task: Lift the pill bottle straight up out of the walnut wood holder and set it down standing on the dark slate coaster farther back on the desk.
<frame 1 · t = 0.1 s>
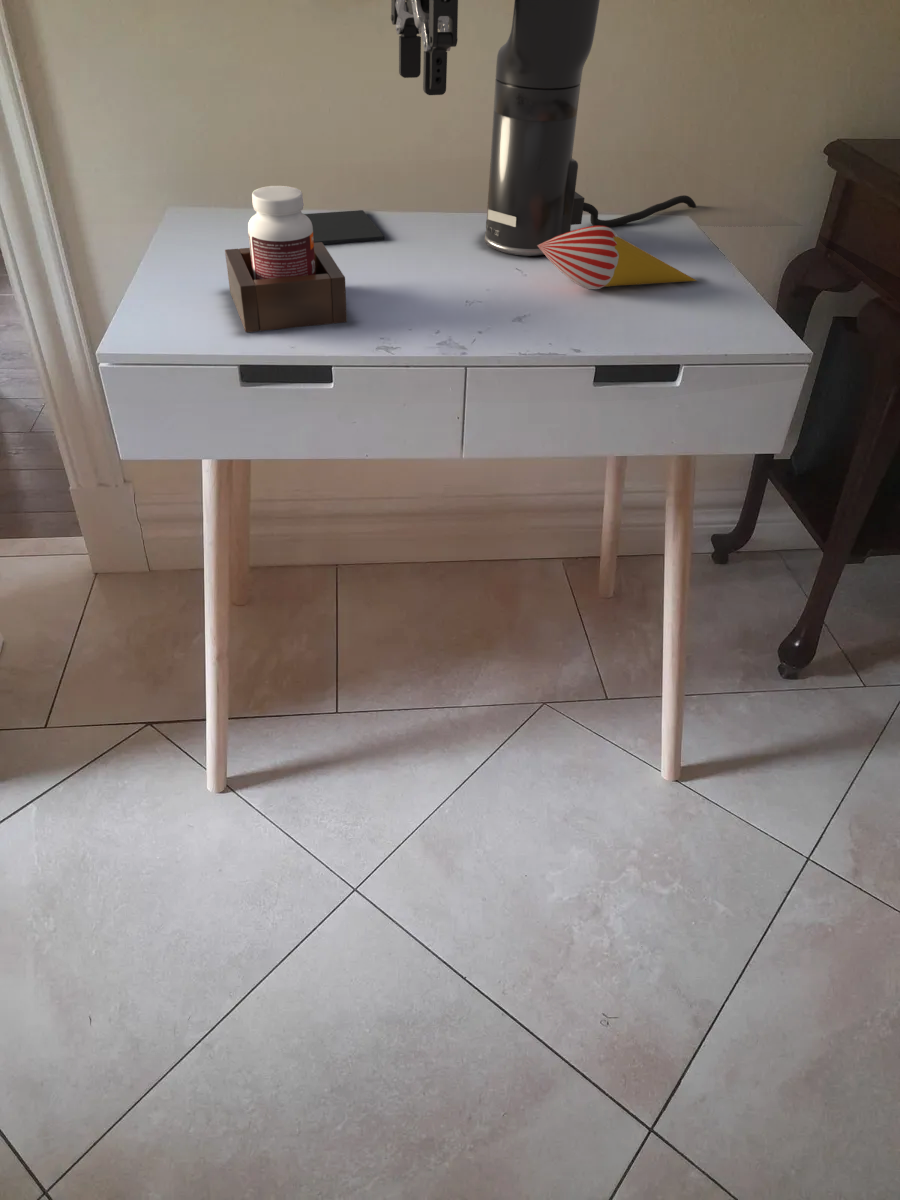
hand: (421, 85, 92), 17 cm above the table, tool pointing down, fingers open, 8 cm apart
coaster: (333, 228, 108), on the table
holder: (287, 307, 90), on the table
ice cream cone: (617, 288, 98), on the table
pill bottle: (287, 309, 90), resting in holder
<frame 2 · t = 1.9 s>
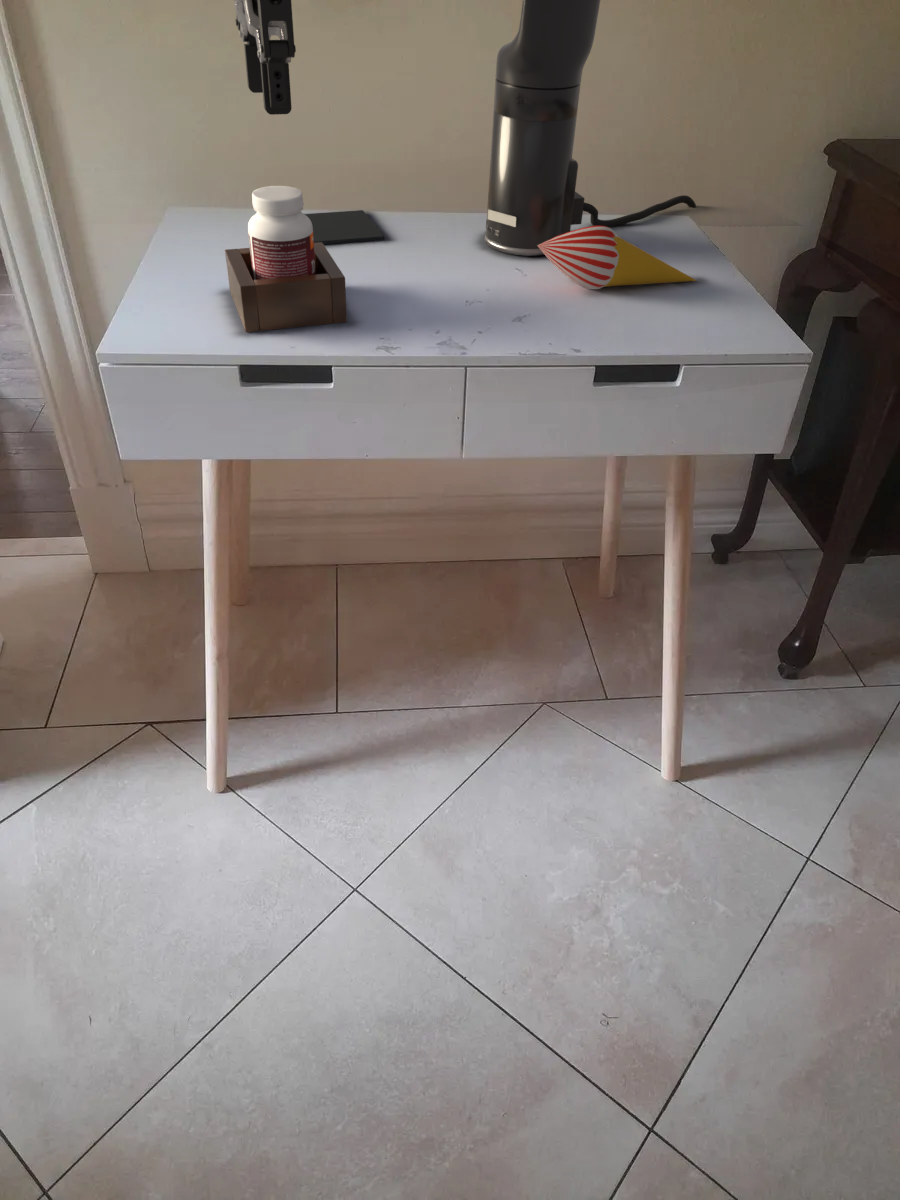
hand: (269, 102, 78), 19 cm above the table, tool pointing down, fingers open, 8 cm apart
nothing on the table moved.
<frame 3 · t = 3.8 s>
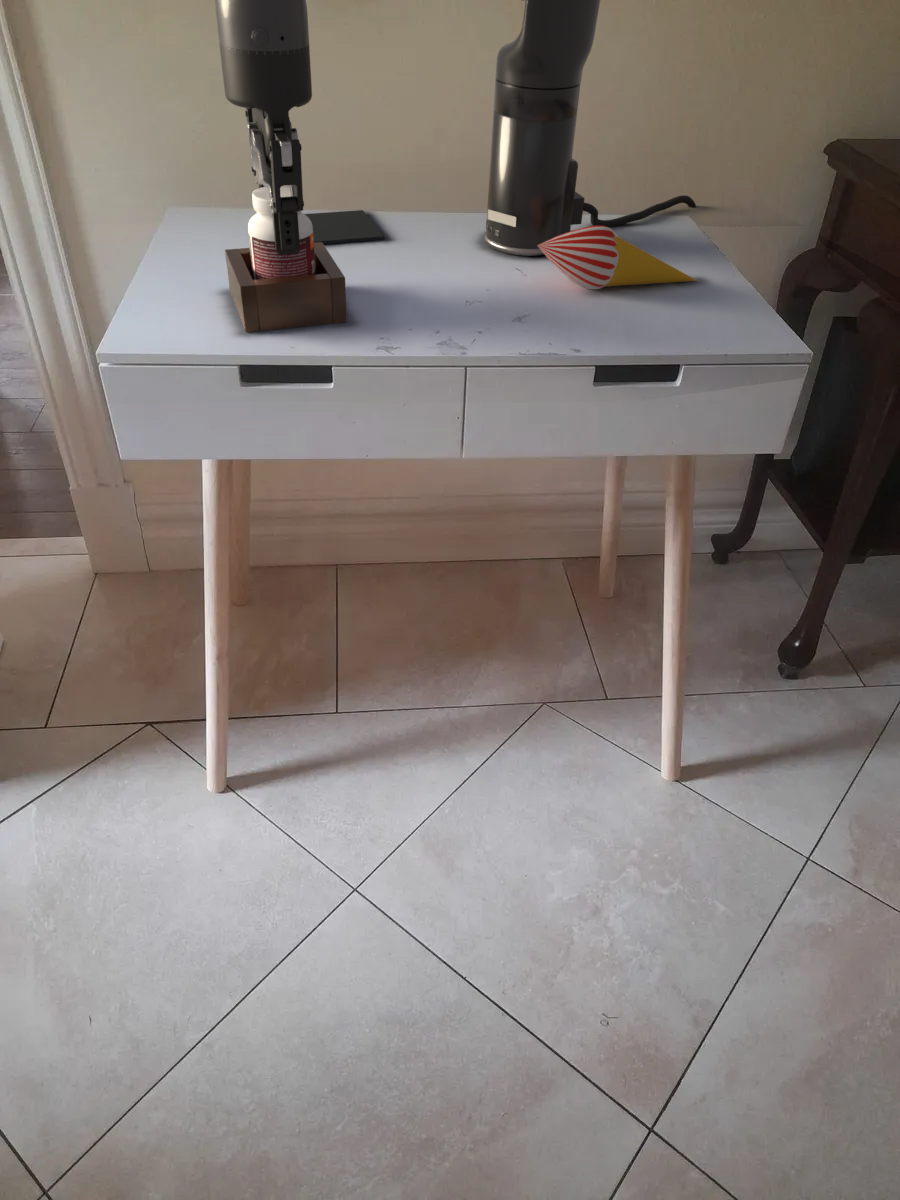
hand: (281, 240, 86), 7 cm above the table, tool pointing down, fingers closed on pill bottle, 6 cm apart
pill bottle: (287, 309, 90), resting in holder, touching gripper
everything else where it was.
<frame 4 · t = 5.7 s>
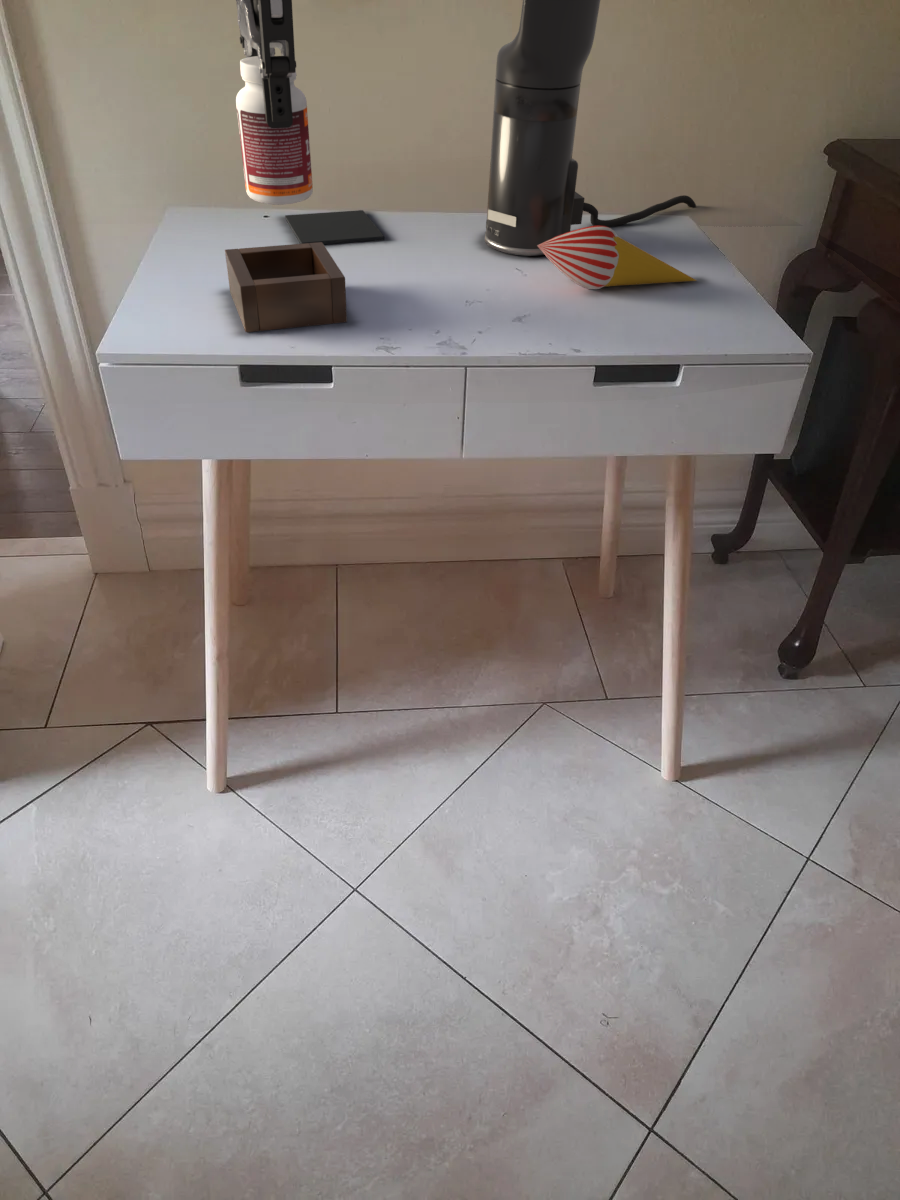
hand: (272, 116, 79), 17 cm above the table, tool pointing down, fingers closed on pill bottle, 6 cm apart
pill bottle: (280, 198, 83), point 11 cm above the table, touching gripper
everything else where it was.
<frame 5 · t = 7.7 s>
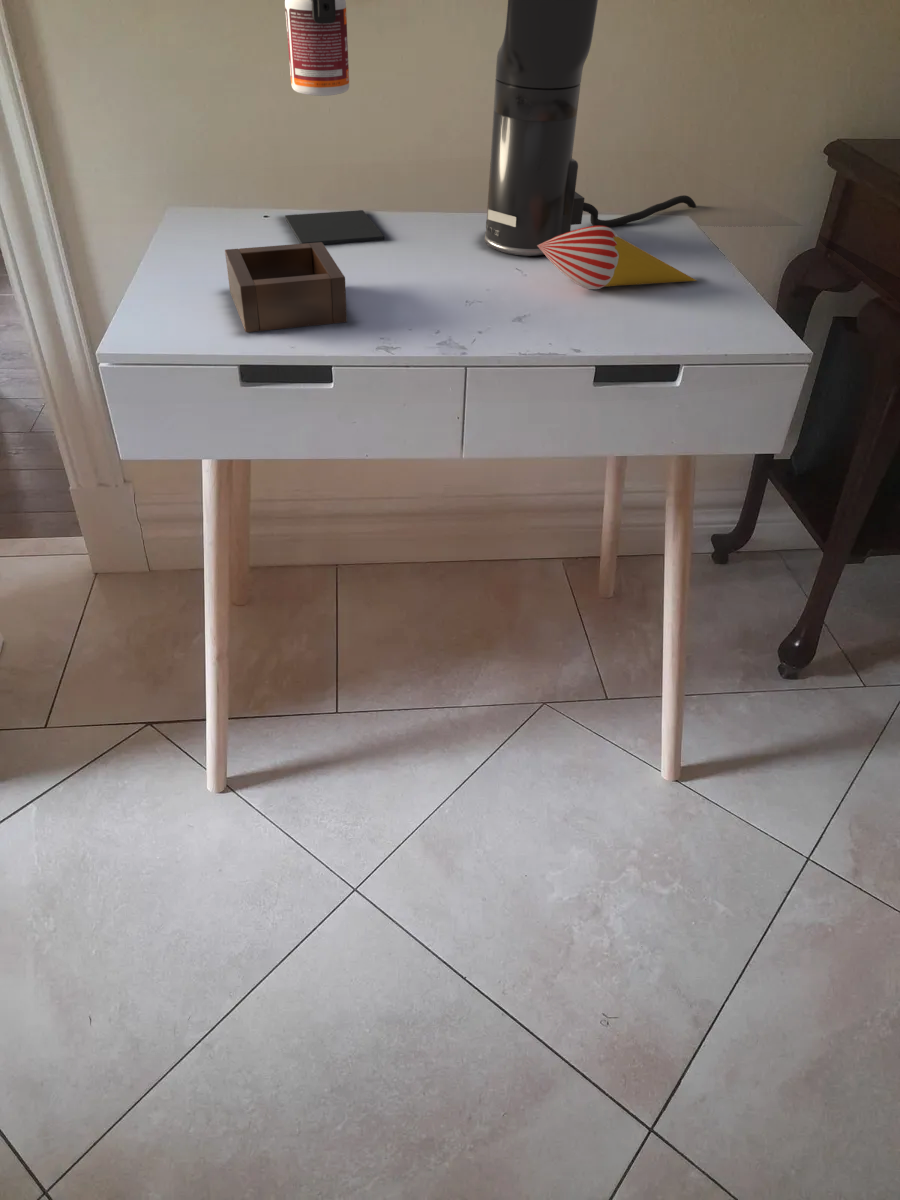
hand: (316, 16, 91), 22 cm above the table, tool pointing down, fingers closed on pill bottle, 6 cm apart
pill bottle: (320, 92, 95), point 16 cm above the table, touching gripper
everything else where it was.
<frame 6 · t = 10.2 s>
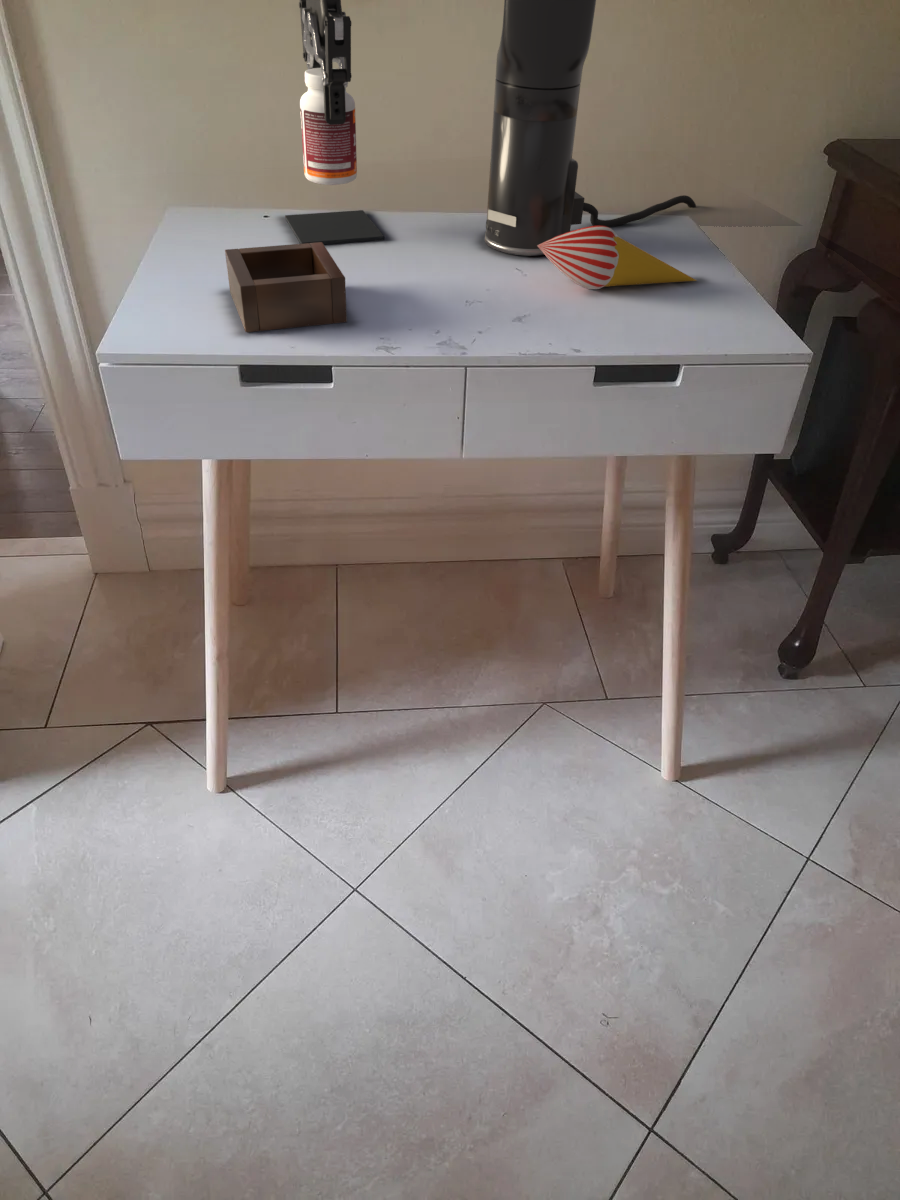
hand: (328, 115, 100), 12 cm above the table, tool pointing down, fingers closed on pill bottle, 6 cm apart
pill bottle: (330, 180, 105), point 6 cm above the table, touching gripper
everything else where it was.
when the fingers open (7 cm above the table, at t = 12.1 s): pill bottle stays where it is, resting on coaster.
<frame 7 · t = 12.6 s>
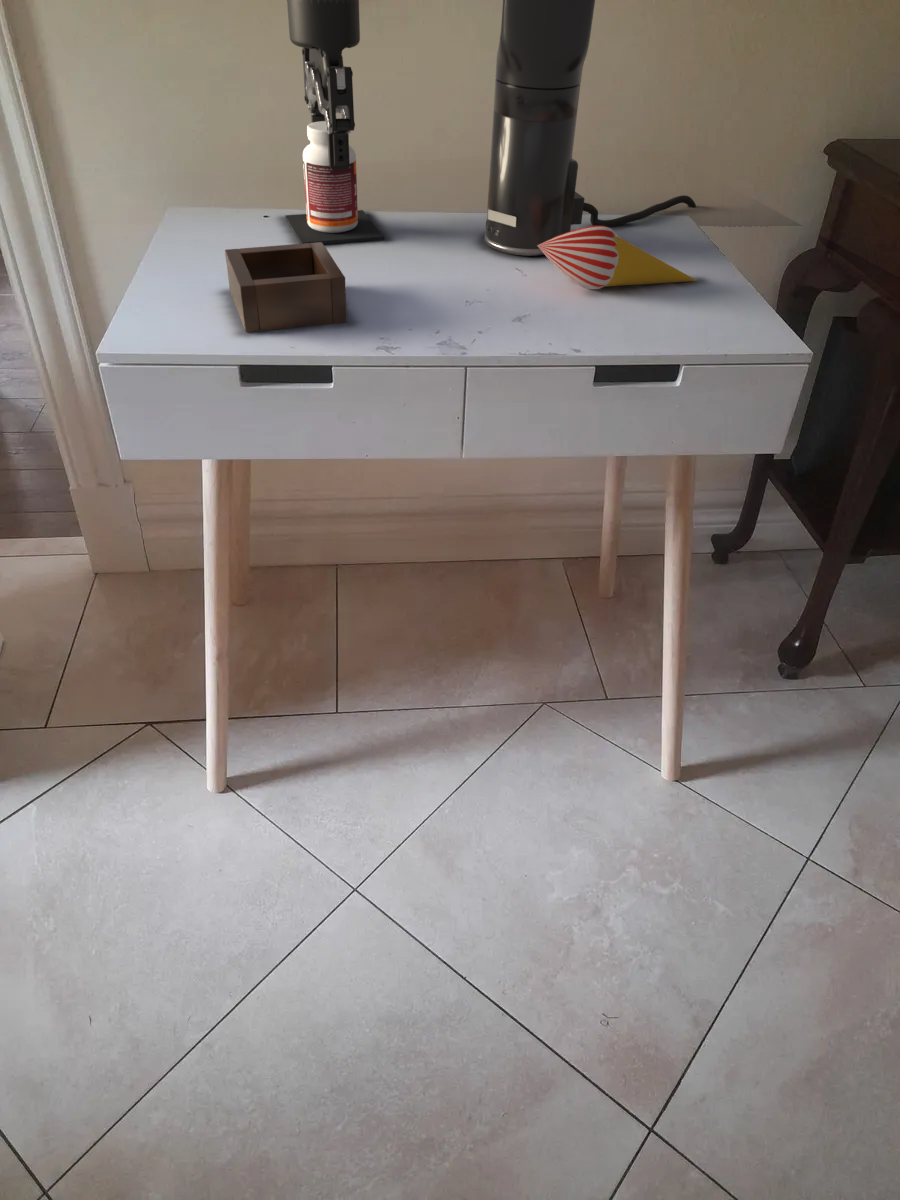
hand: (330, 159, 103), 8 cm above the table, tool pointing down, fingers open, 8 cm apart
pill bottle: (332, 227, 108), resting on coaster
everything else where it was.
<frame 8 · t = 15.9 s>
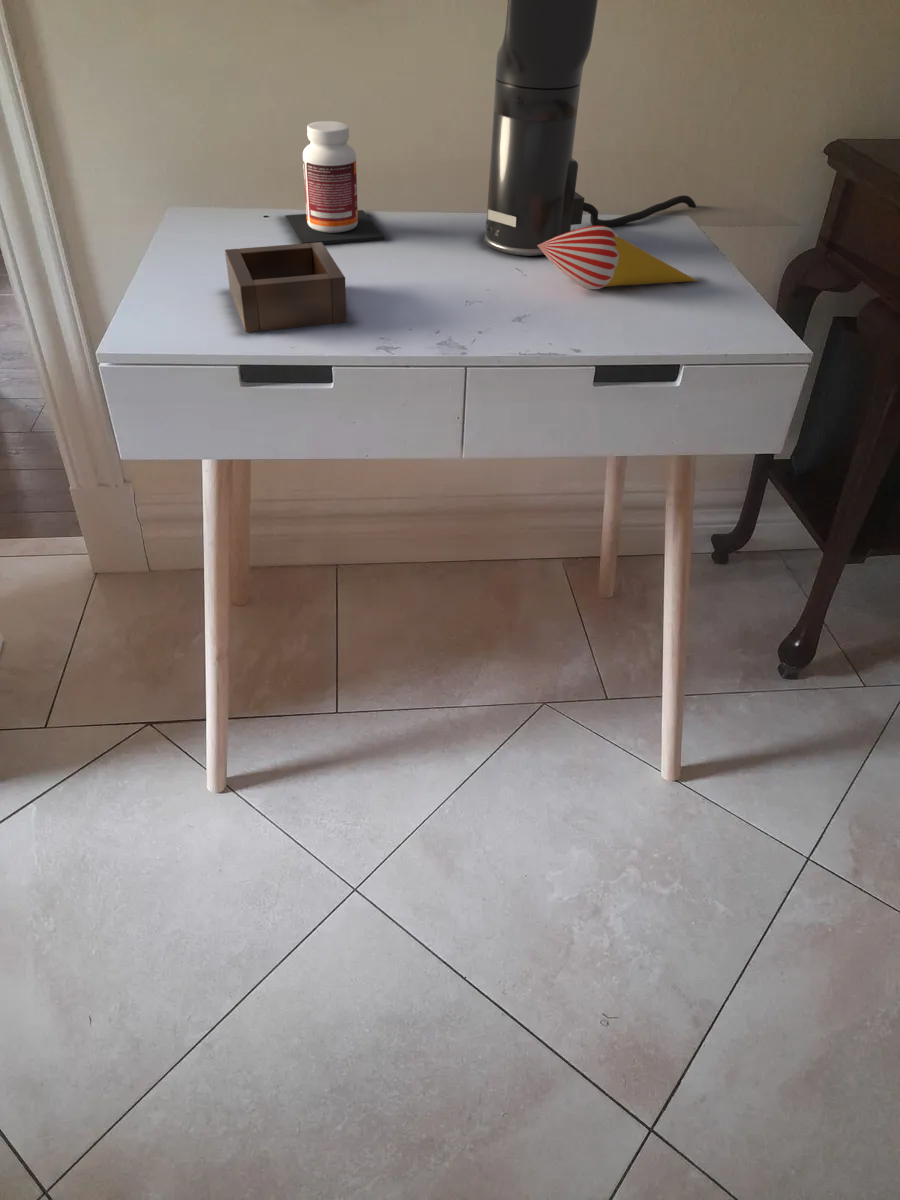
nothing on the table moved.
at the end: pill bottle inside the target area (0.1 cm from its centre), resting on coaster; pill bottle tilted 0°; pill bottle touching coaster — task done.
